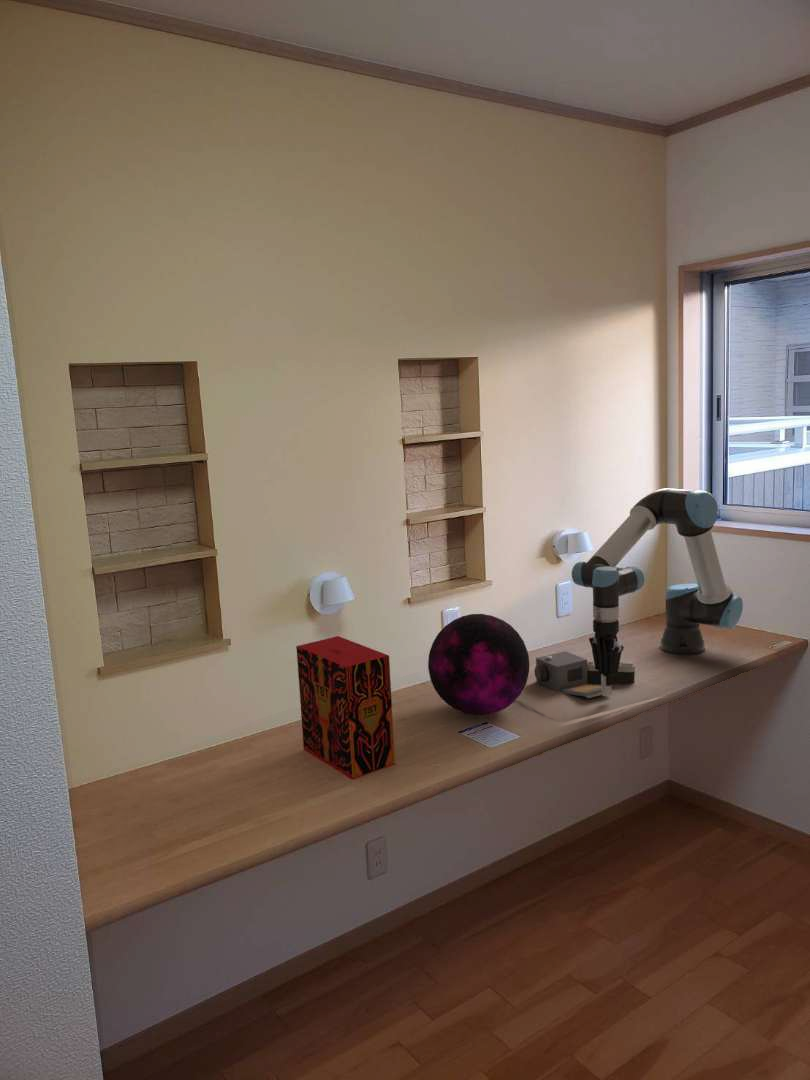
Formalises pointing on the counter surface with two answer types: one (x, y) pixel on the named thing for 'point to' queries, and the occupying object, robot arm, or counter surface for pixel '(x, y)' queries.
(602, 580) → the robot arm
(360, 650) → the box
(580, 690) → the side door
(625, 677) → the camera
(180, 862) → the counter surface
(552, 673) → the box
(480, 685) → the purple mottled sphere
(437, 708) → the counter surface
